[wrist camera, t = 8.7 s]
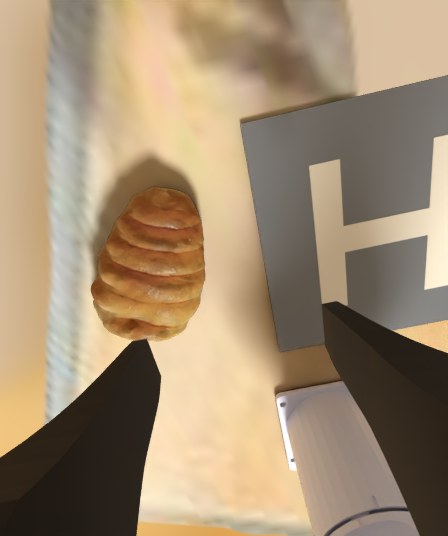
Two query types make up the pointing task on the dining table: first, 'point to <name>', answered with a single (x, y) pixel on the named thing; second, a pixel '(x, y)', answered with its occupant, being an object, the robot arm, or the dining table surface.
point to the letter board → (354, 209)
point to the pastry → (151, 267)
